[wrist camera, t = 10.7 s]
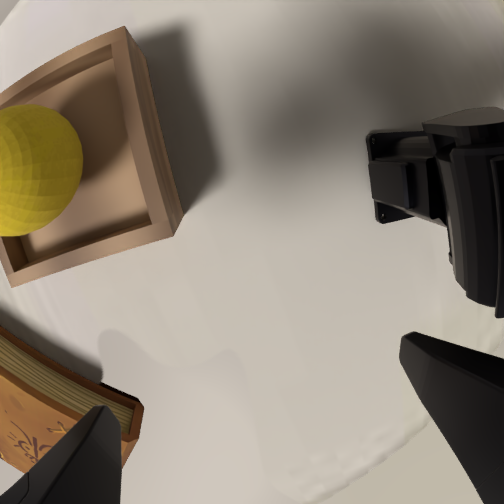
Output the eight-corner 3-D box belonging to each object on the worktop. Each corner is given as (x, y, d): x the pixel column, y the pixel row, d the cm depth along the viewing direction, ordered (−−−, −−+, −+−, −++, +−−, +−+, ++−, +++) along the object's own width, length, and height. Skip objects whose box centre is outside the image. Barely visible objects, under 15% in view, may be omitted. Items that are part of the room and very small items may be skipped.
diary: (107, 479, 27) (102, 509, 22) (-2, 422, 22) (-15, 447, 17) (145, 400, 23) (137, 448, 17) (-15, 309, 18) (-46, 338, 12)
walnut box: (147, 60, 15) (124, 25, 9) (184, 214, 18) (173, 236, 13) (18, 122, 14) (-29, 117, 9) (52, 257, 18) (11, 288, 12)
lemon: (77, 229, 14) (3, 293, 6) (9, 188, 12) (-81, 220, 4) (121, 139, 13) (56, 125, 6) (47, 100, 11) (-41, 75, 4)
